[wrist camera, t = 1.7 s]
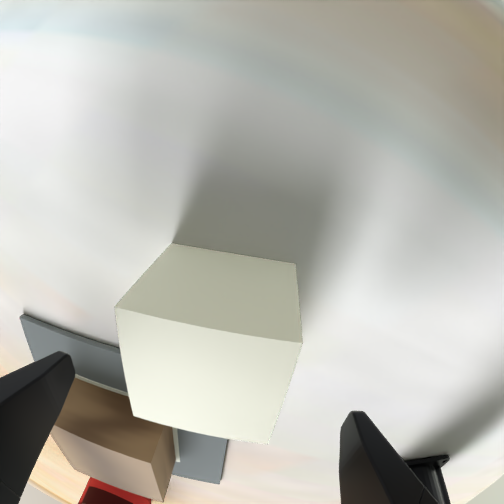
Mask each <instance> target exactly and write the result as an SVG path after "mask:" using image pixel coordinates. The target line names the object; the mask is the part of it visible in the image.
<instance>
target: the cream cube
mask: <svg viewBox="0 0 504 504" xmlns="http://www.w3.org/2000/svg"><path fill="white" fill-rule="evenodd" d="M115 316H116V324H117V332H118V339H119V345H120V352H121V358H122V364H123V369H124V375H125V380H126V385H127V390H128V394H129V399H130V403H131V408H132V412H133V416H135V417H139V418H142V419H145V420H149V421H152V422H156V423H159V424H163V425H166V426H170V427H174V428H178V429H182V430H187V431H191V432H195V433H200V434H205V435H210V436H215V437H220V438H226V439H232V440H238V441H244V442H251V443H259V444H267V445H268V443H269V440H270V438H271V435H272V432H273V430H274V427H275V424H276V421H277V419H278V416H279V413H280V410H281V408H282V405H283V402H284V399H285V396H286V393H287V390H288V387H289V384H290V381H291V378H292V375H293V372H294V369H295V366H296V363H297V360H298V357H299V353H300V350H301V347H302V344H303V341H302V329H301V317H300V305H299V294H298V284H297V274H296V264H295V263H288V262H282V261H276V260H270V259H264V258H258V257H252V256H246V255H240V254H234V253H228V252H221V251H215V250H209V249H203V248H197V247H191V246H185V245H179V244H173V243H171V244H170V245H169V246H168V248H167V249H166V250H165V251H164V252H163V253H162V254H161V255H160V256H159V257H158V258H157V259H156V260H155V262H154V263H153V264H152V265H151V266H150V267H149V268H148V269H147V270H146V271H145V273H144V274H143V275H142V276H141V277H140V278H139V279H138V280H137V281H136V283H135V284H134V285H133V286H132V287H131V288H130V289H129V291H128V292H127V293H126V294H125V295H124V296H123V297H122V299H121V300H120V301H119V302H118V303H117V304H116V306H115Z"/></svg>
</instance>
